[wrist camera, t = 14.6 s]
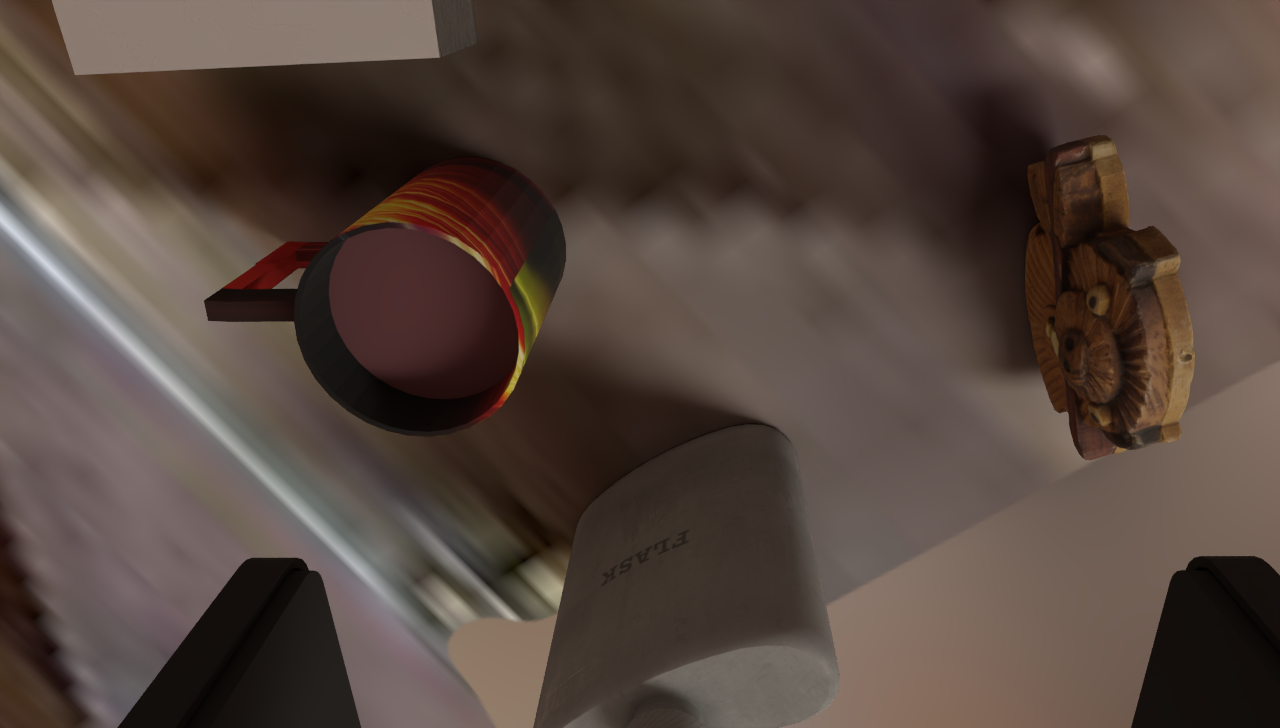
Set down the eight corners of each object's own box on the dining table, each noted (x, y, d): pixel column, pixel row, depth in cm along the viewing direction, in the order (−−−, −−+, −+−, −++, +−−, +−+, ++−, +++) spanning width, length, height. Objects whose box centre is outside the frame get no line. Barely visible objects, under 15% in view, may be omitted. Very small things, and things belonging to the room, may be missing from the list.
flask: (760, 396, 49) (796, 652, 31) (811, 469, 51) (874, 752, 33) (552, 512, 53) (477, 796, 35) (607, 575, 55) (562, 876, 37)
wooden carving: (977, 145, 42) (1053, 196, 33) (1073, 112, 41) (1179, 155, 32) (1035, 422, 48) (1112, 528, 39) (1119, 399, 48) (1218, 502, 39)
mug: (291, 238, 46) (167, 322, 36) (508, 124, 43) (445, 179, 32) (389, 382, 50) (303, 499, 39) (597, 287, 47) (566, 386, 36)
